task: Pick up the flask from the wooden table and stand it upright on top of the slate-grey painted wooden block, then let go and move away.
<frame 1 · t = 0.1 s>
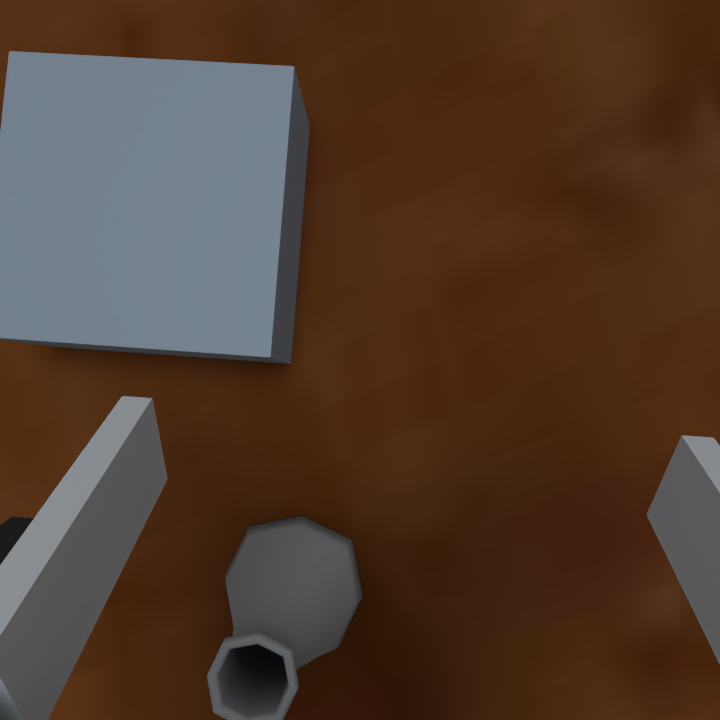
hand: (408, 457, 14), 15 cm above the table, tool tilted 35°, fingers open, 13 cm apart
flask: (294, 582, 30), on the table
grey block: (183, 237, 31), on the table
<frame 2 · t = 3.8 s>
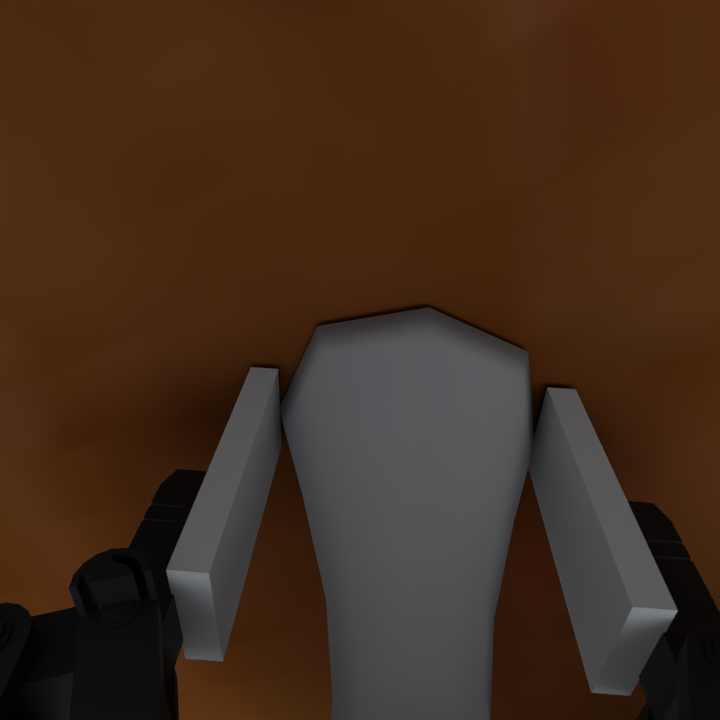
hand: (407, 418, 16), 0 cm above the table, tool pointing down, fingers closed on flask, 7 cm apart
flask: (406, 411, 16), on the table, touching gripper
when the fingers open (7 cm above the table, at t = 9.0 s): flask drops 1 cm, resting on grey block.
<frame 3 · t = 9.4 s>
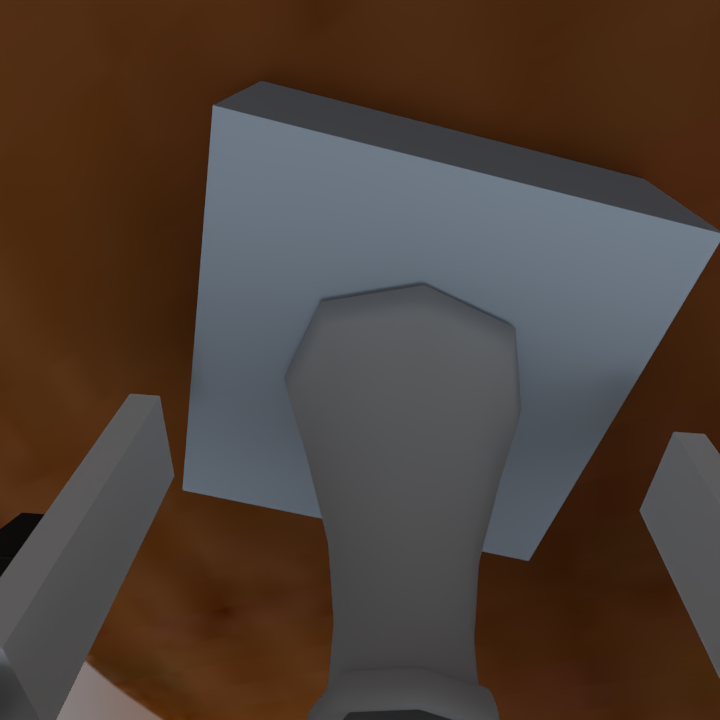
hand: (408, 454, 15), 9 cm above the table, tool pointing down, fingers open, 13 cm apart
flask: (402, 384, 17), point 5 cm above the table, touching grey block
grey block: (404, 298, 22), on the table, touching flask
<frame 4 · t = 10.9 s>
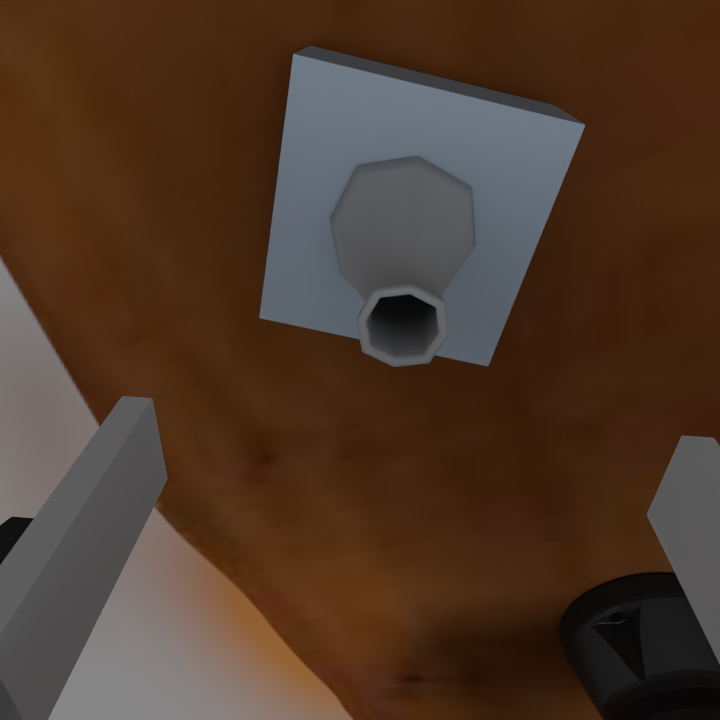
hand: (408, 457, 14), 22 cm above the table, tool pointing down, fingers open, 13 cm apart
flask: (402, 229, 28), point 5 cm above the table, touching grey block
grey block: (403, 196, 33), on the table, touching flask
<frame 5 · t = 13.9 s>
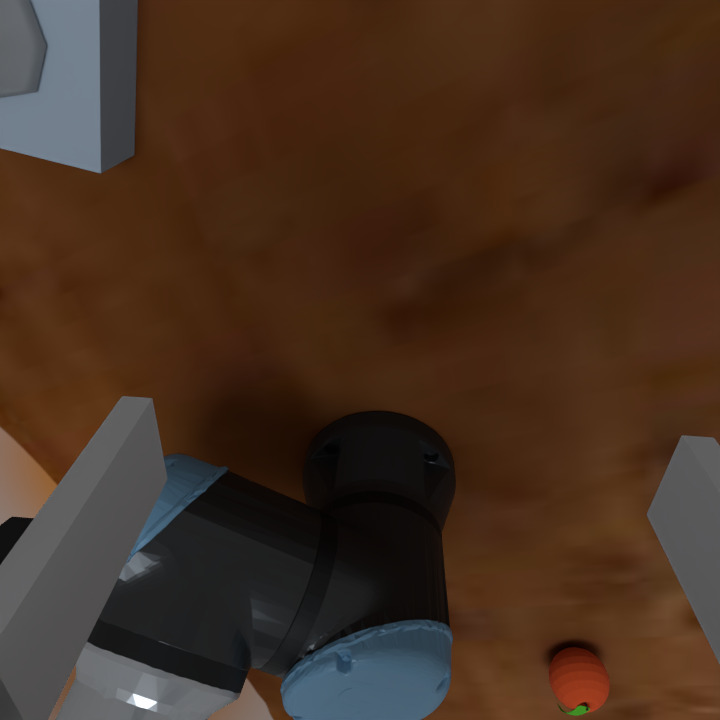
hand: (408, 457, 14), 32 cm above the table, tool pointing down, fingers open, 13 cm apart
grey block: (44, 33, 39), on the table
clementine: (568, 651, 72), on the table
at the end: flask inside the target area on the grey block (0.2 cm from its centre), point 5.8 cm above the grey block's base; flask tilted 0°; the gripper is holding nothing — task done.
